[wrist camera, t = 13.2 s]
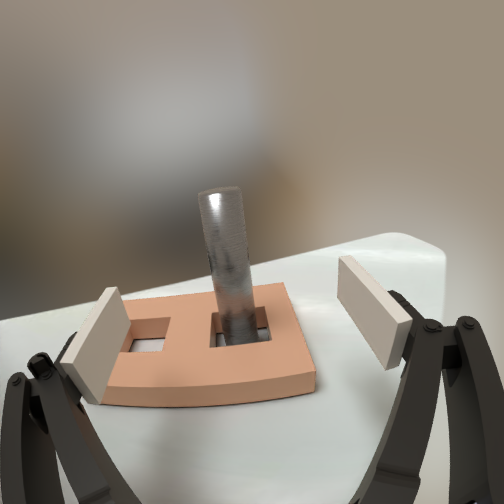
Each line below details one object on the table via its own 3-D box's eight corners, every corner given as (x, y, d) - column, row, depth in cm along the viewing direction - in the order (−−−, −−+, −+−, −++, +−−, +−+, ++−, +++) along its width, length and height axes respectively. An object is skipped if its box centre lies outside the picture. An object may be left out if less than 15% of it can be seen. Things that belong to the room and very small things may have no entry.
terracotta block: (86, 401, 18) (73, 382, 17) (123, 318, 30) (117, 301, 29) (314, 391, 18) (315, 370, 17) (284, 301, 30) (283, 282, 29)
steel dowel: (227, 360, 23) (195, 198, 17) (226, 338, 25) (200, 190, 20) (261, 356, 23) (241, 191, 17) (257, 334, 25) (239, 185, 20)
